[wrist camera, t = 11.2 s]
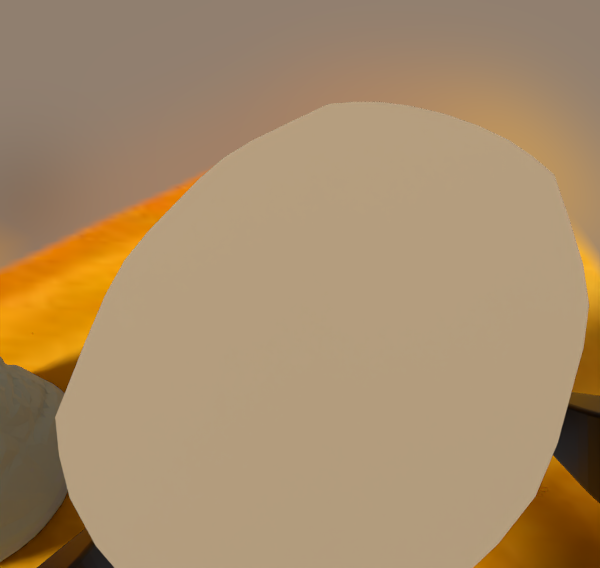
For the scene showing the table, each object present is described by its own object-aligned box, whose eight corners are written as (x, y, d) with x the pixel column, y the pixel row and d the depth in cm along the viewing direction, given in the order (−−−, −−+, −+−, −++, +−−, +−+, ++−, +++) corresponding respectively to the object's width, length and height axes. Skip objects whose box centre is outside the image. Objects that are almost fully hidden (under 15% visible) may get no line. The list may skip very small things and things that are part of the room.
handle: (409, 410, 18) (632, 167, 5) (345, 550, 15) (437, 888, 2) (321, 360, 19) (303, 73, 6) (250, 480, 17) (-40, 423, 4)
